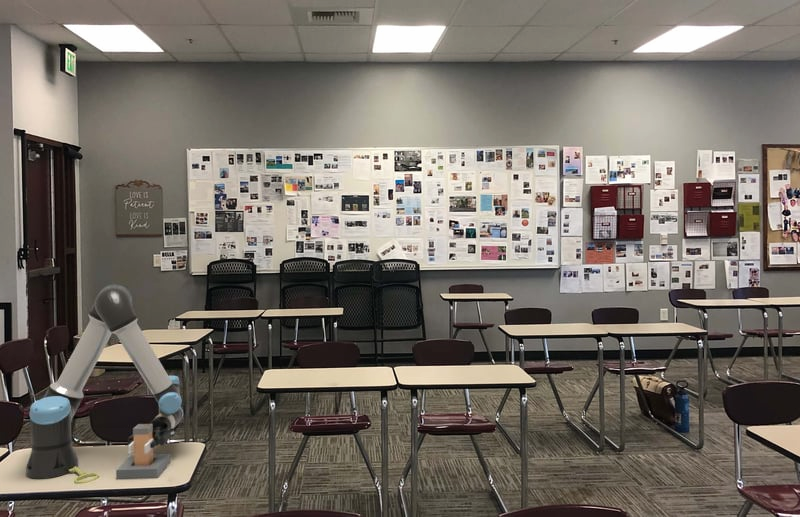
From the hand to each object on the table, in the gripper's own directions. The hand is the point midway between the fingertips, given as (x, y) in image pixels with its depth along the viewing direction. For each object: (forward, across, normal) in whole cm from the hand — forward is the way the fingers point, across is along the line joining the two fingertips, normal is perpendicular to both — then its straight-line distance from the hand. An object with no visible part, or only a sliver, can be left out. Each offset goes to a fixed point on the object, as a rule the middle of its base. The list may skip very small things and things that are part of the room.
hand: (137, 449), depth 198 cm
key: (-2, +18, -10) cm, 21 cm away
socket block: (-5, 0, -9) cm, 10 cm away
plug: (-5, 0, -8) cm, 10 cm away
